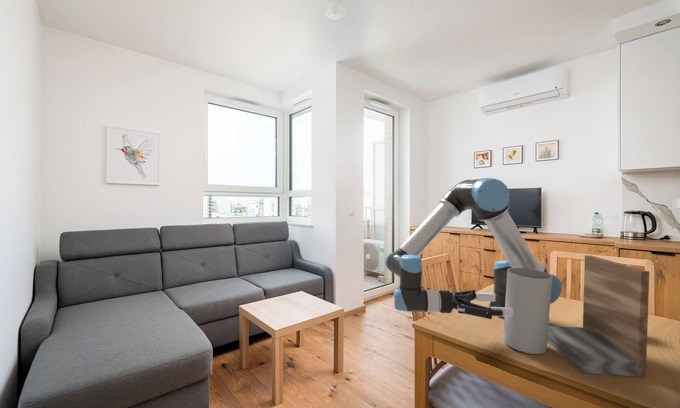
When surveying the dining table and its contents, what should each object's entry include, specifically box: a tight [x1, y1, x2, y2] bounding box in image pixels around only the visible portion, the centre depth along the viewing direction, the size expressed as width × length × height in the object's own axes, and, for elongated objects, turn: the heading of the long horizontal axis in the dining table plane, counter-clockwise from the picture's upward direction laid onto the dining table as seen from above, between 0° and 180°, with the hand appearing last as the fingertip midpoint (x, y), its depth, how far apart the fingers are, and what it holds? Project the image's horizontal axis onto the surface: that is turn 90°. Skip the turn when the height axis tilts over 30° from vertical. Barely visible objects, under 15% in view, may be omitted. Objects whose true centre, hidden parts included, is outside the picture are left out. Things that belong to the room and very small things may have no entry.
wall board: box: [547, 254, 650, 378], centre depth 93 cm, size 16×22×30 cm
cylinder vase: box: [502, 267, 552, 355], centre depth 97 cm, size 12×12×25 cm
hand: (503, 304), depth 98 cm, fingers open, 13 cm apart
